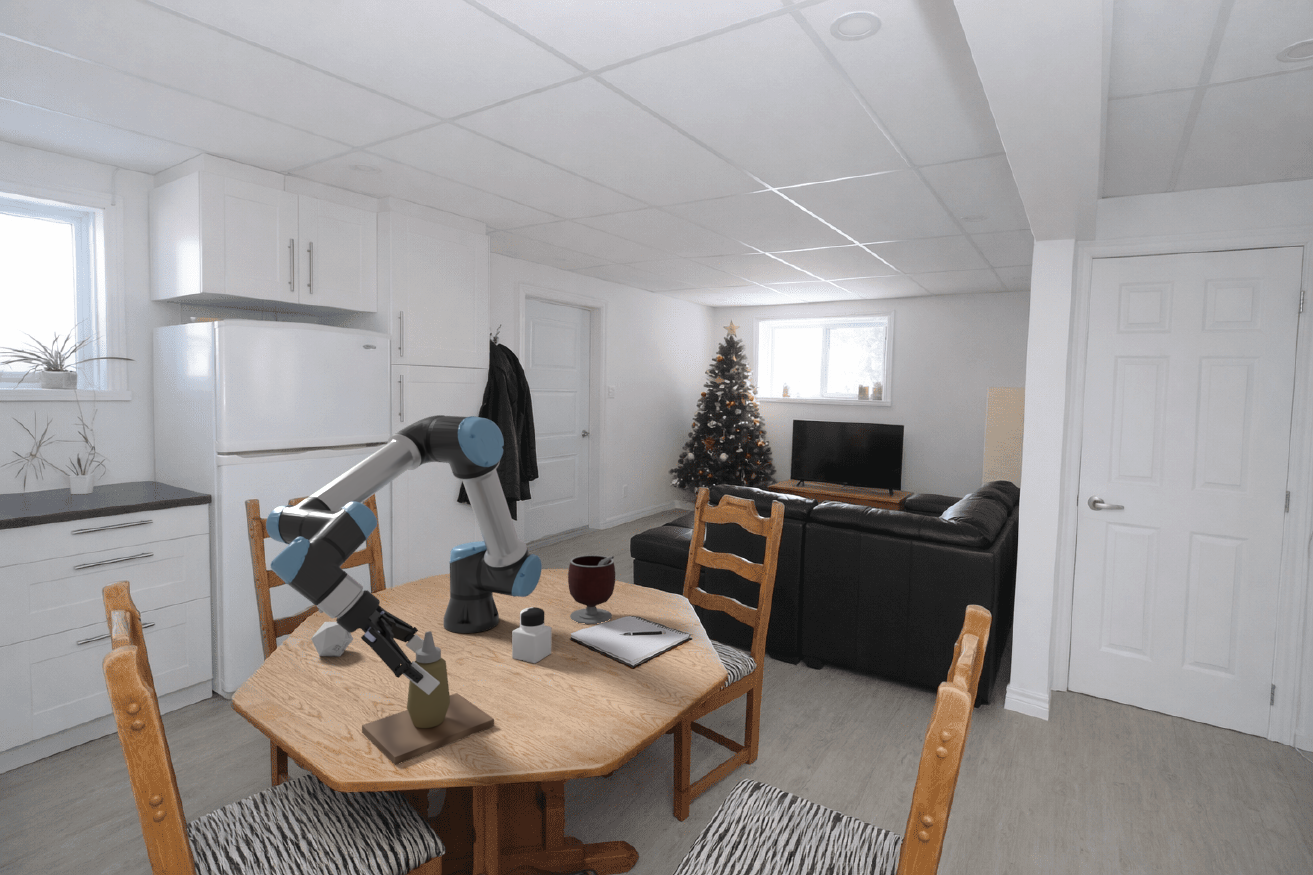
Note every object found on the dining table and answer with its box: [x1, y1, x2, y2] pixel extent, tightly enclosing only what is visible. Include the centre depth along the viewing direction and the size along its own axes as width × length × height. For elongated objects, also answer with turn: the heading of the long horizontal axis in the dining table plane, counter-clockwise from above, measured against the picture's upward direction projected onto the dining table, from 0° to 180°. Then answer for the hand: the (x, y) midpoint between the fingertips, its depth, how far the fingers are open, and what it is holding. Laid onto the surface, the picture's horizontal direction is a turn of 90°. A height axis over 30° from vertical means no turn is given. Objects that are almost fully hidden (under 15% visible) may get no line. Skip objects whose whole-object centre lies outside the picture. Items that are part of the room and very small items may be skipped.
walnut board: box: [361, 692, 495, 766], centre depth 128 cm, size 20×15×2 cm
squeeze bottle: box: [406, 630, 451, 728], centre depth 128 cm, size 8×8×18 cm
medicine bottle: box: [511, 606, 552, 664], centre depth 164 cm, size 7×7×12 cm
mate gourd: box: [567, 554, 616, 625], centre depth 192 cm, size 16×14×20 cm
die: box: [310, 621, 354, 657], centre depth 162 cm, size 8×9×10 cm
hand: (434, 673), depth 128 cm, fingers open, 13 cm apart
